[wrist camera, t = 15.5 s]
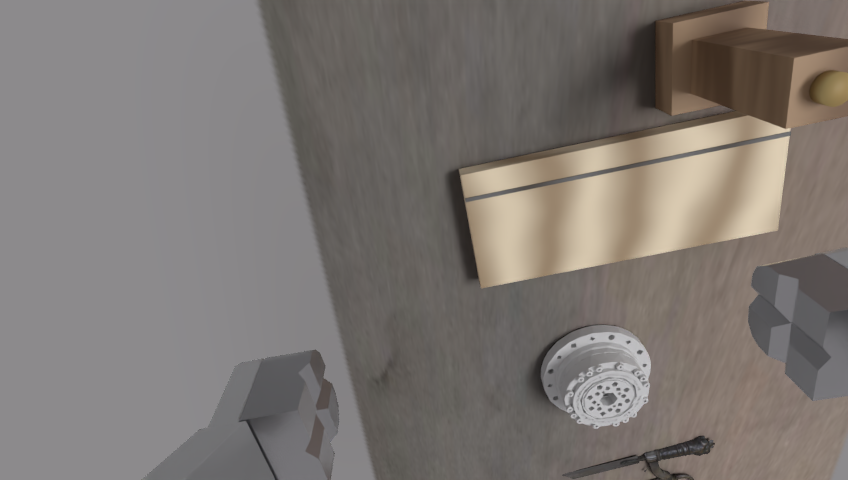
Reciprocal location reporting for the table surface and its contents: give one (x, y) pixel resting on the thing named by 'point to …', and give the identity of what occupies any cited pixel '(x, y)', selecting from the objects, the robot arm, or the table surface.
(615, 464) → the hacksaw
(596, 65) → the table surface
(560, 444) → the table surface
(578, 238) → the plank
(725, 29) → the wooden peg post
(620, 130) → the table surface
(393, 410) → the table surface
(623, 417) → the mechanical component
